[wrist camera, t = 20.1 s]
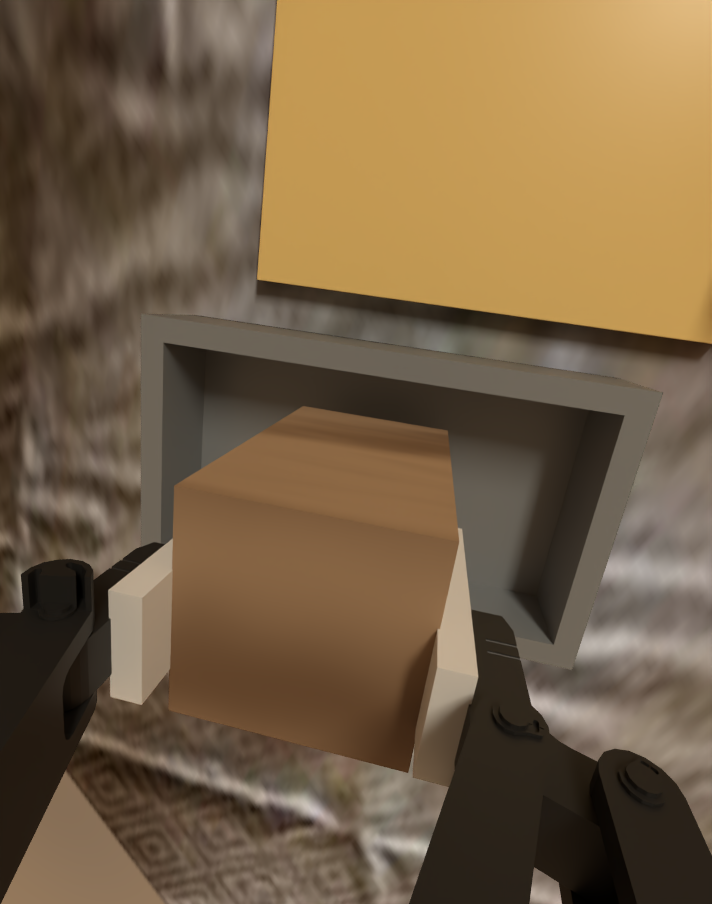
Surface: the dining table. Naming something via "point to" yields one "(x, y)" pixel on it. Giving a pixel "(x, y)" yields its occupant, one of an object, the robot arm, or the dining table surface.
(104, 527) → the dining table surface
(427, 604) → the walnut block
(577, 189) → the lid
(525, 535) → the tub
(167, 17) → the dining table surface
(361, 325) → the dining table surface
